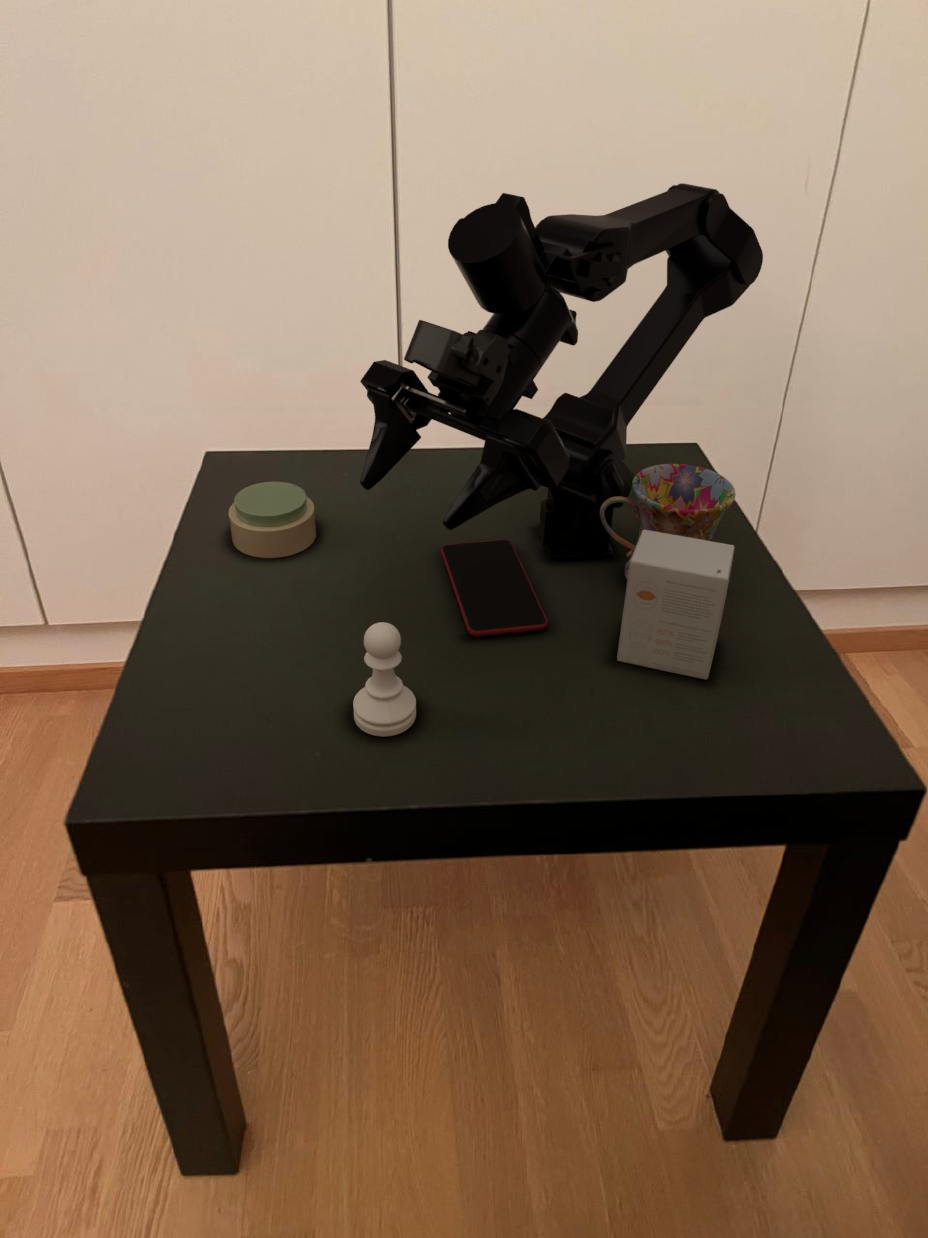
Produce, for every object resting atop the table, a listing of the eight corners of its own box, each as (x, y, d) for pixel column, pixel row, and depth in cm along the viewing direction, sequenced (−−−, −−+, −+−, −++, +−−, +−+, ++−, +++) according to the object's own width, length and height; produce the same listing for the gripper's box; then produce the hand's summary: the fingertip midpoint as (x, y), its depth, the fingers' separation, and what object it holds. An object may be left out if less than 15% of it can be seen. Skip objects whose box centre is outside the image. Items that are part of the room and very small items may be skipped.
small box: (715, 645, 85) (738, 544, 78) (707, 682, 80) (730, 579, 74) (627, 626, 87) (642, 526, 81) (614, 662, 82) (629, 559, 76)
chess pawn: (349, 701, 77) (343, 611, 72) (409, 692, 79) (408, 603, 73) (358, 742, 74) (353, 650, 68) (422, 732, 75) (421, 641, 69)
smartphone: (469, 633, 84) (439, 544, 96) (469, 641, 84) (439, 552, 96) (550, 624, 85) (510, 538, 97) (549, 632, 86) (510, 545, 97)
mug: (704, 558, 96) (723, 463, 90) (724, 611, 89) (746, 512, 83) (587, 556, 96) (597, 461, 90) (596, 608, 89) (609, 509, 83)
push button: (316, 514, 102) (313, 476, 100) (316, 556, 95) (312, 517, 93) (235, 517, 101) (230, 479, 99) (228, 560, 94) (223, 521, 92)
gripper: (385, 257, 75) (272, 413, 73) (574, 311, 65) (449, 494, 63) (442, 345, 85) (343, 487, 82) (615, 405, 75) (507, 567, 72)
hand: (403, 506), depth 75 cm, fingers open, 9 cm apart
